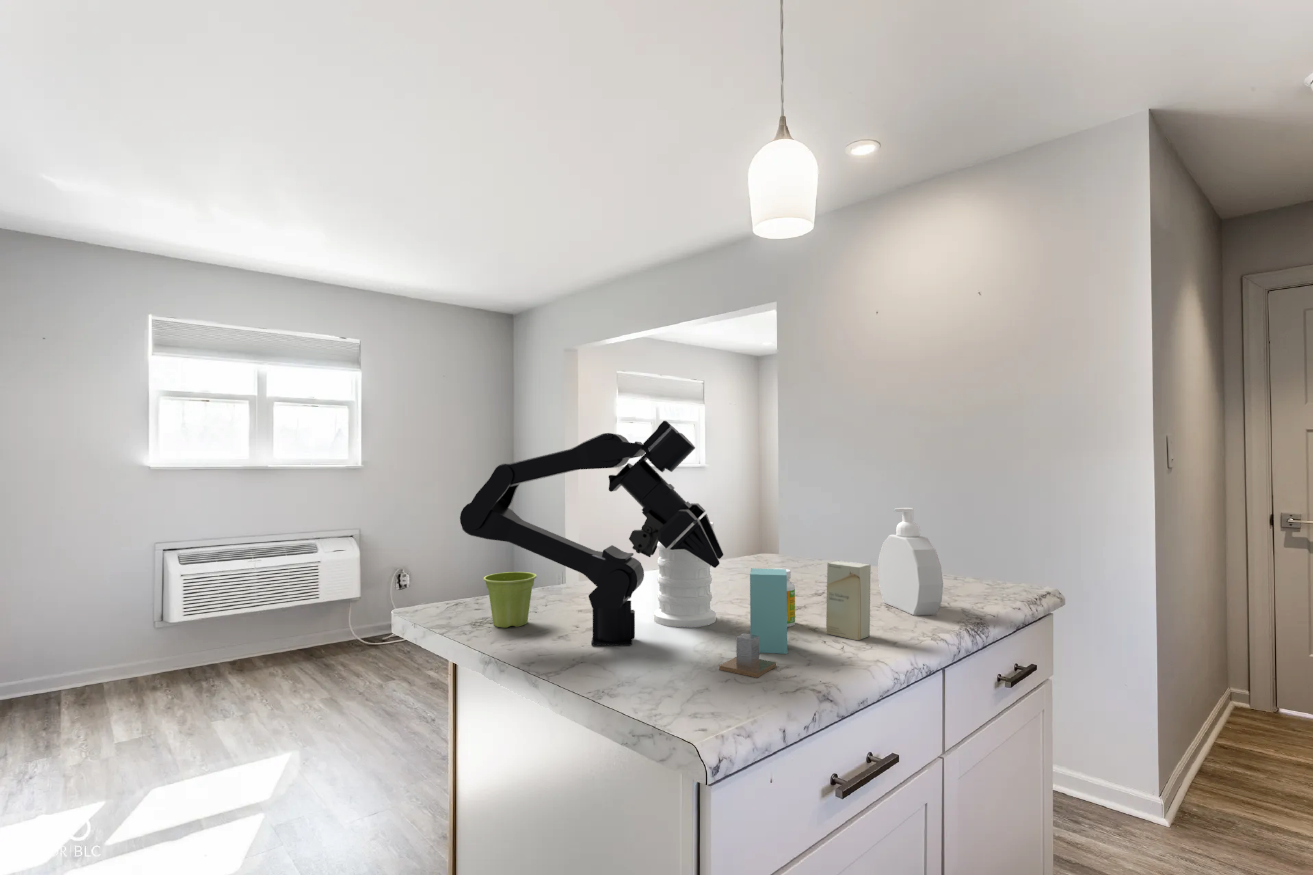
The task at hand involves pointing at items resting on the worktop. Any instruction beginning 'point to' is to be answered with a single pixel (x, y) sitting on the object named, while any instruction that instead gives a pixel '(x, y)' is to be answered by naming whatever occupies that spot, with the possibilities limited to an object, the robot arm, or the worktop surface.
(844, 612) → the skincare box
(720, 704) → the worktop surface
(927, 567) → the soap bottle
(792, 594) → the supplement bottle
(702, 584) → the decorative container
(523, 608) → the plant pot
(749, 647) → the post
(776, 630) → the teal block
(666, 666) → the worktop surface
